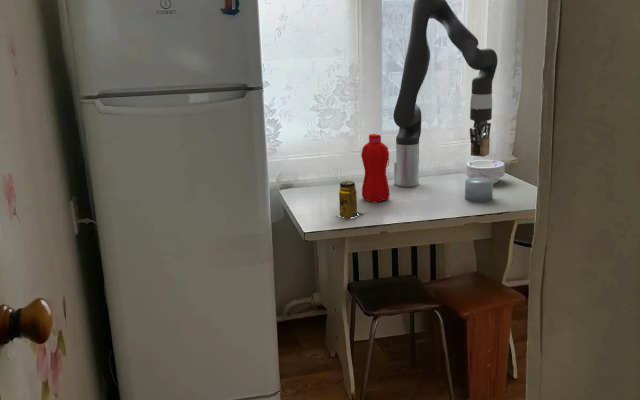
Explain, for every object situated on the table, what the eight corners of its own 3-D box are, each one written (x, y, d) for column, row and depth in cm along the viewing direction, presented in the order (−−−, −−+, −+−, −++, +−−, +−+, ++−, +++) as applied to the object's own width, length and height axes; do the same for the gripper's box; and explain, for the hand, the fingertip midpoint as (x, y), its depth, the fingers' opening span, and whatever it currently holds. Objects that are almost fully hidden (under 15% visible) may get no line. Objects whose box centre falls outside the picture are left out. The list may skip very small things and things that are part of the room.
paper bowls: (459, 179, 253) (459, 161, 251) (492, 176, 257) (492, 157, 254) (476, 188, 239) (477, 168, 237) (511, 184, 242) (512, 165, 240)
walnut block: (470, 155, 220) (471, 139, 218) (476, 152, 224) (476, 136, 222) (483, 156, 217) (484, 140, 215) (489, 154, 221) (489, 137, 219)
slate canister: (460, 200, 224) (461, 182, 222) (471, 194, 232) (471, 176, 230) (486, 204, 219) (487, 185, 217) (496, 197, 226) (497, 179, 224)
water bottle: (396, 198, 229) (396, 133, 222) (372, 204, 224) (371, 137, 217) (381, 193, 237) (381, 130, 230) (358, 198, 232) (357, 134, 224)
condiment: (334, 216, 211) (333, 183, 208) (349, 210, 218) (348, 178, 214) (351, 220, 207) (350, 186, 204) (365, 213, 213) (365, 181, 210)
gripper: (479, 103, 223) (477, 148, 228) (462, 108, 212) (461, 156, 217) (498, 104, 219) (496, 150, 223) (483, 109, 208) (481, 158, 212)
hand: (479, 152), depth 220 cm, fingers closed on walnut block, 5 cm apart
